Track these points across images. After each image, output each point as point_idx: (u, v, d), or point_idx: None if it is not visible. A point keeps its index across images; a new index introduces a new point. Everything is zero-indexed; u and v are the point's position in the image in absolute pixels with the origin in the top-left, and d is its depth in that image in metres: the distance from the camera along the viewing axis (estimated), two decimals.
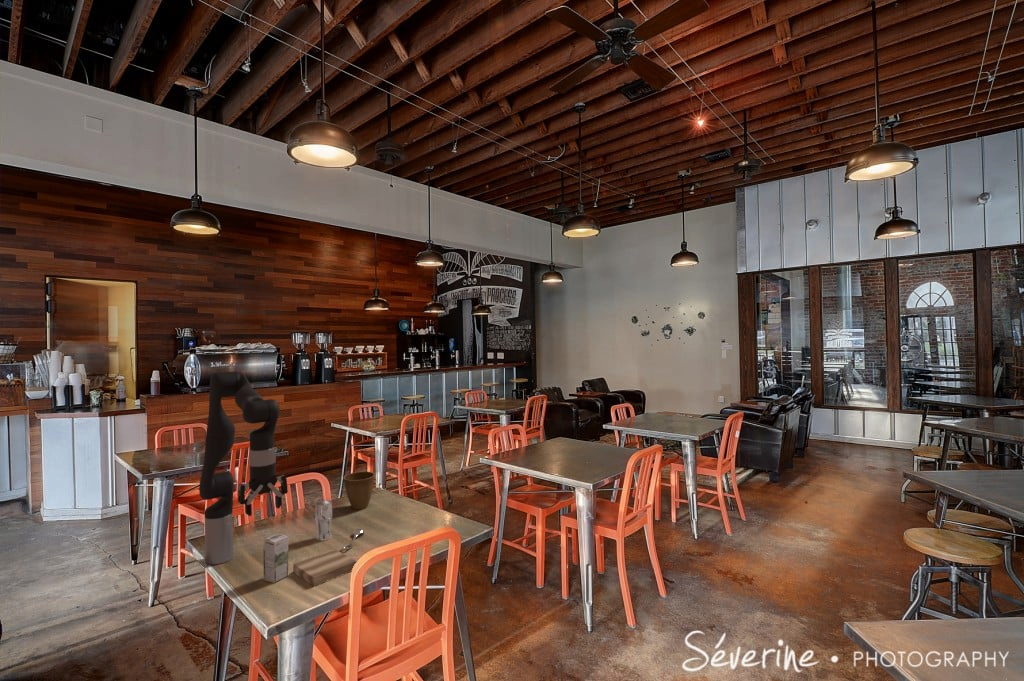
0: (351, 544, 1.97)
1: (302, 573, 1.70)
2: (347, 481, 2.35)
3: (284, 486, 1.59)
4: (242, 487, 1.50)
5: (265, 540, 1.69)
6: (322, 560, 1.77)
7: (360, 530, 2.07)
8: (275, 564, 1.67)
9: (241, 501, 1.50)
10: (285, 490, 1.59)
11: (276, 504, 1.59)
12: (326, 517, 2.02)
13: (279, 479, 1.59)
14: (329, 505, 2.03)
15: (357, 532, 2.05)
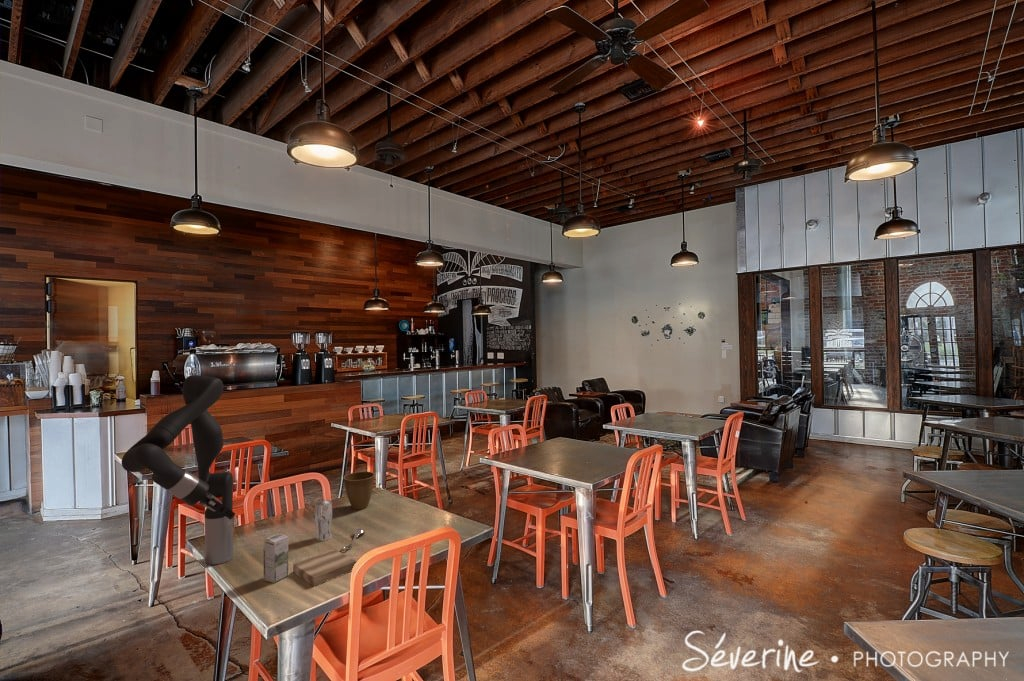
0: (351, 544, 1.97)
1: (302, 573, 1.70)
2: (347, 481, 2.35)
3: (215, 510, 1.52)
4: None
5: (265, 540, 1.69)
6: (322, 560, 1.77)
7: (360, 530, 2.06)
8: (275, 564, 1.67)
9: None
10: (218, 512, 1.53)
11: None
12: (326, 517, 2.02)
13: None
14: (329, 505, 2.03)
15: (357, 532, 2.05)
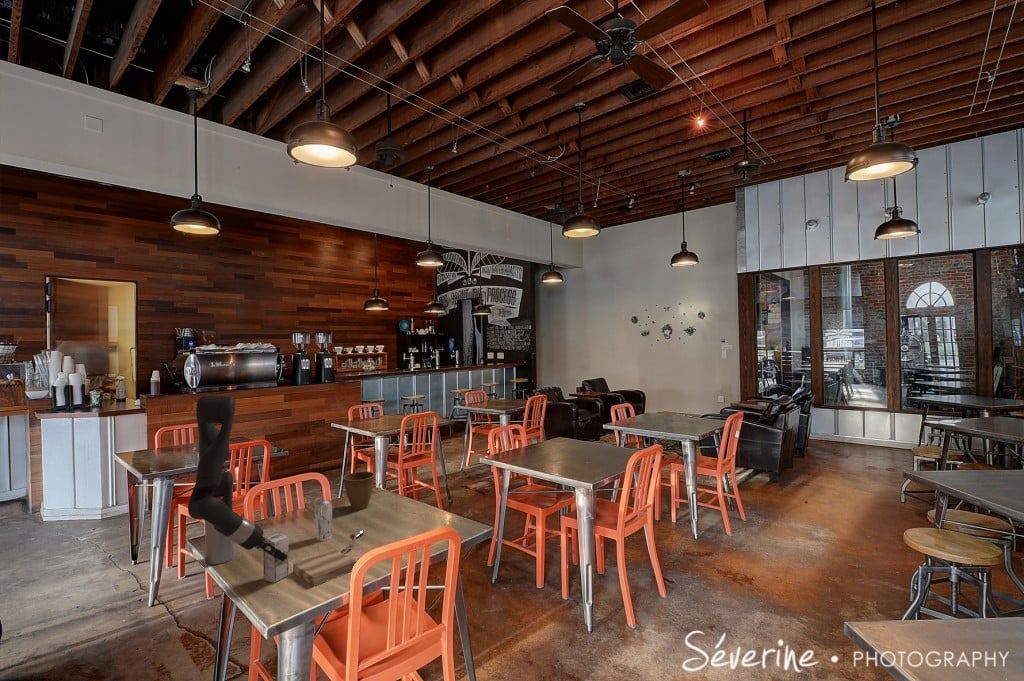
0: (352, 544, 1.97)
1: (302, 573, 1.70)
2: (347, 481, 2.35)
3: (270, 554, 1.63)
4: None
5: None
6: (322, 560, 1.77)
7: (360, 530, 2.06)
8: (276, 564, 1.67)
9: None
10: (273, 556, 1.64)
11: None
12: (326, 517, 2.02)
13: None
14: (329, 505, 2.03)
15: (357, 532, 2.05)
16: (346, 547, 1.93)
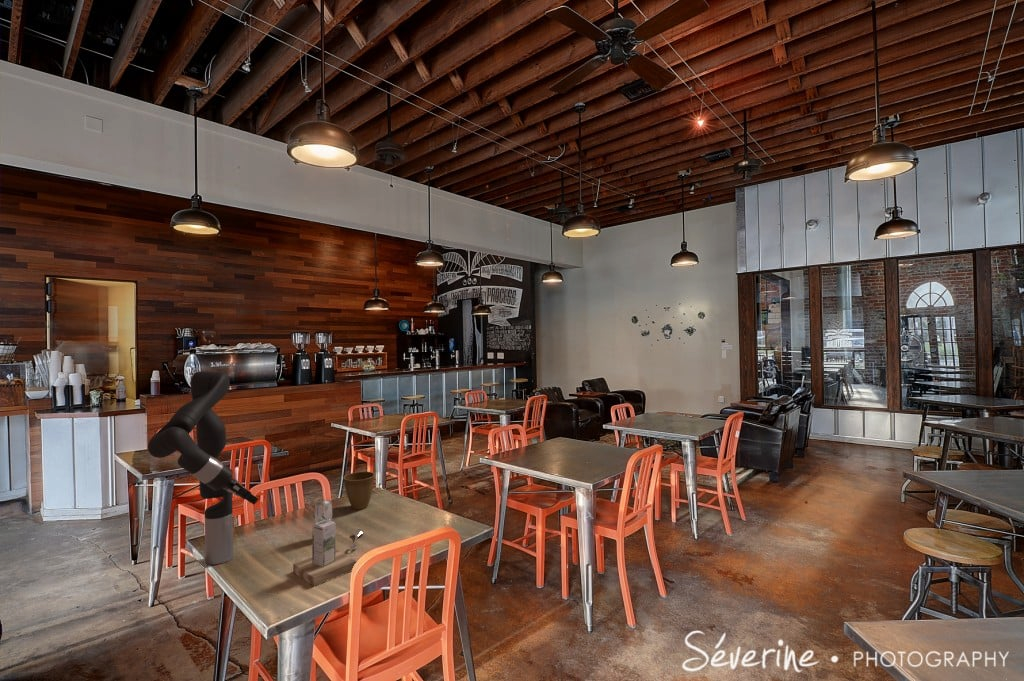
0: (354, 545, 1.97)
1: (302, 573, 1.70)
2: (347, 481, 2.35)
3: (239, 495, 1.54)
4: None
5: (314, 525, 1.74)
6: None
7: (360, 531, 2.06)
8: (324, 549, 1.72)
9: None
10: (242, 497, 1.55)
11: None
12: (326, 517, 2.02)
13: None
14: (329, 505, 2.03)
15: (357, 533, 2.04)
16: (350, 547, 1.92)
